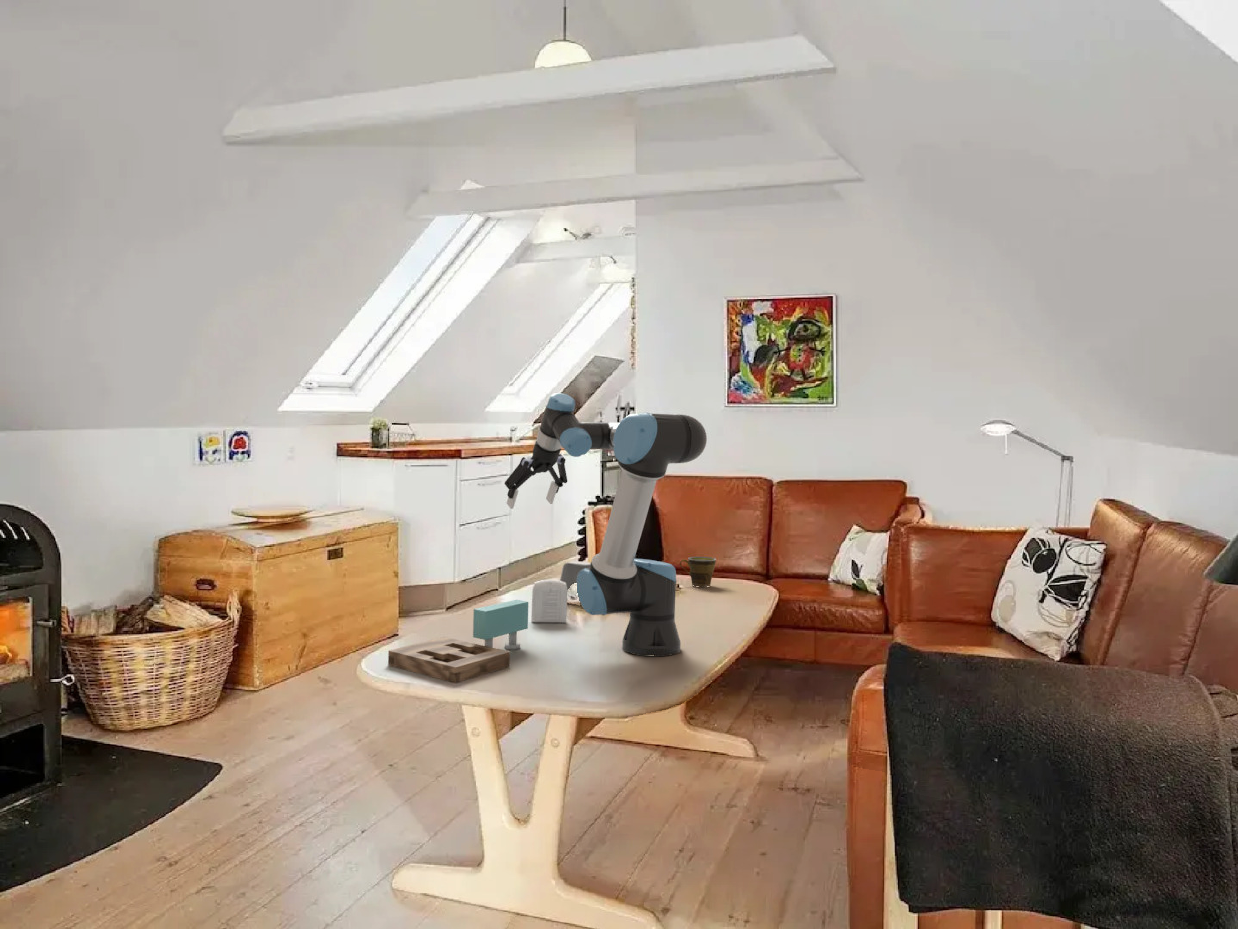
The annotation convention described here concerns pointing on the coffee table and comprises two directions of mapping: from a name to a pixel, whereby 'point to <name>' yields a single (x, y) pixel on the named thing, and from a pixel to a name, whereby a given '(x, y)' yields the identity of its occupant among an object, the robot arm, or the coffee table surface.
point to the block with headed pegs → (501, 622)
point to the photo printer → (549, 601)
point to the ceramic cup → (700, 570)
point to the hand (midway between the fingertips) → (529, 503)
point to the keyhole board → (449, 659)
